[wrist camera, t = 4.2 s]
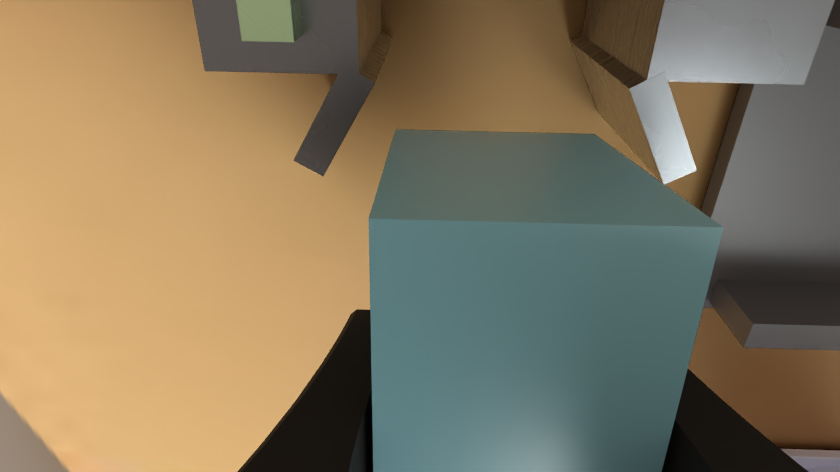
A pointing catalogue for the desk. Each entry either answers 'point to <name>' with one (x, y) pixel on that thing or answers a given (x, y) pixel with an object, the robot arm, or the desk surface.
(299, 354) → the desk surface
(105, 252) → the desk surface
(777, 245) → the holster
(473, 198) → the teal rectangular block
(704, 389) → the robot arm
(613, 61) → the port block
